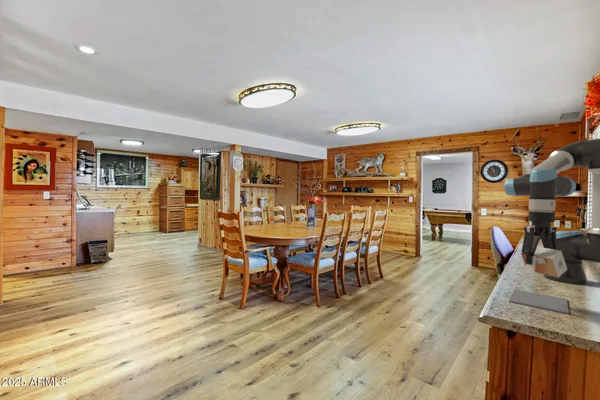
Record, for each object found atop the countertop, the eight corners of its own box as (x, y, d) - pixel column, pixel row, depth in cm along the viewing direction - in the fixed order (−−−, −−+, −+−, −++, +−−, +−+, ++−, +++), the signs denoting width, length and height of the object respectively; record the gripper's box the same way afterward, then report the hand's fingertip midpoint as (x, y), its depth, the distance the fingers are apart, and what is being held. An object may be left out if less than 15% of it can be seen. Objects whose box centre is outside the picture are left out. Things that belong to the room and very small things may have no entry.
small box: (559, 278, 102) (526, 270, 111) (568, 269, 103) (535, 262, 113) (552, 258, 100) (520, 253, 110) (561, 250, 102) (529, 245, 112)
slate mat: (514, 290, 120) (514, 289, 120) (566, 300, 110) (566, 298, 110) (509, 301, 107) (509, 300, 107) (568, 314, 96) (568, 312, 96)
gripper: (532, 211, 101) (530, 277, 101) (572, 212, 108) (569, 273, 108) (510, 210, 108) (508, 271, 108) (549, 211, 115) (546, 268, 115)
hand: (538, 272), depth 108 cm, fingers closed on small box, 9 cm apart
